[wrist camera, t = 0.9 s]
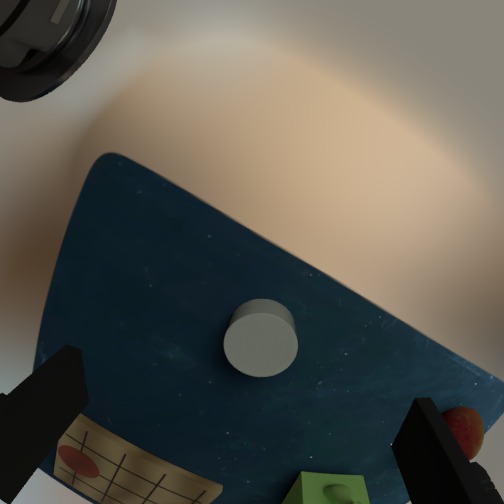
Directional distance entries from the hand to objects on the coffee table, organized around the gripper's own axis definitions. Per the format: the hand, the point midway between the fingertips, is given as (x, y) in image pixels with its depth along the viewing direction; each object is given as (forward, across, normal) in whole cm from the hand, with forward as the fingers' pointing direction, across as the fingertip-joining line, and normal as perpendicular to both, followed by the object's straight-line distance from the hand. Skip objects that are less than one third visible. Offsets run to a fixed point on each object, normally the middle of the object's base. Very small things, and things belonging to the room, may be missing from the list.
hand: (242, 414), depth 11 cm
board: (+19, -16, -38) cm, 45 cm away
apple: (+19, +26, -16) cm, 37 cm away
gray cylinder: (+19, +1, -5) cm, 20 cm away
